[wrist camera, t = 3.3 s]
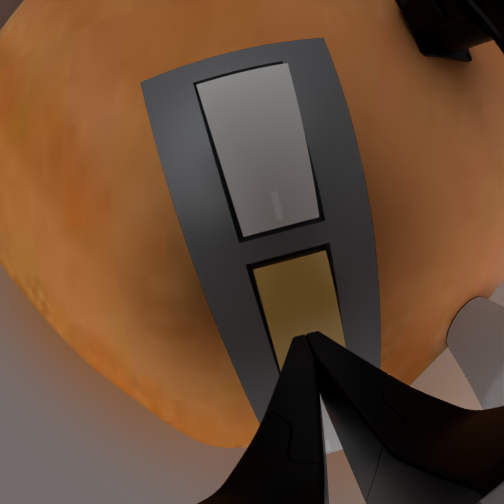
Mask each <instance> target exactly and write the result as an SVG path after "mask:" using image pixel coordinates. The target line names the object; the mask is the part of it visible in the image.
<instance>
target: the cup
mask: <svg viewBox="0 0 504 504" xmlns="http://www.w3.org/2000/svg"><path fill="white" fill-rule="evenodd" d="M447 345H448V347H449V349H450V351H451V352H452V354H453V355H454V357H455V359H456V360H457V362H458V364H459V366H460V367H461V369H462V371H463V373H464V374H465V376H466V378H467V380H468V381H469V383H470V385H471V387H472V388H473V391H474V392H475V394H476V396H477V398H478V400H479V402H480V404H481V406H482V408H483V409H484V410H485V409H490V408H495V407H500V406H504V307H503V306H501V305H499V304H496V303H494V302H492V301H490V300H488V299H486V298H484V297H476V298H474V299H472V300H471V301H469V302H468V303H467V304H466V305H465V306H464V307H463V308H462V309H461V310H460V311H459V313H458V314H457V315H456V317H455V319H454V320H453V322H452V324H451V327H450V329H449V332H448V336H447Z"/></svg>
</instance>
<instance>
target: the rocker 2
mask: <svg viewBox="0 0 504 504" xmlns="http://www.w3.org/2000/svg"><path fill="white" fill-rule="evenodd" d="M253 271H254V275H255V278H256V282H257V286H258V290H259V293H260V297H261V301H262V304H263V308H264V312H265V316H266V319H267V323H268V327H269V330H270V334H271V338H272V341H273V345H274V349H275V352H276V356H277V360H278V363H279V367H280V371H281V370H282V367H283V364H284V361H285V358H286V355H287V353H288V350H289V347H290V344H291V341H292V338H293V337H295V336H299V335H306V334H307V333H311V332H315V331H320V332H321V333H323V334H324V335H326V336H327V337H329V338H331V339H332V340H334V341H335V342H337V343H338V344H340V345H342V346H343V347H345V348H346V346H345V340H344V335H343V329H342V324H341V318H340V313H339V308H338V303H337V298H336V293H335V288H334V284H333V279H332V275H331V270H330V266H329V261H328V257H327V253H326V250H322V249H318V248H316V249H313V250H309V251H305V252H302V253H298V254H294V255H290V256H287V257H283V258H279V259H275V260H271V261H268V262H264V263H260V264H256V265H255V266H254V269H253Z"/></svg>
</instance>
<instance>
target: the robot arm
mask: <svg viewBox="0 0 504 504" xmlns="http://www.w3.org/2000/svg"><path fill="white" fill-rule="evenodd" d="M397 2H398V4H399V6H400V8H401V10H402V12H403V14H404V16H405V18H406V20H407V22H408V24H409V26H410V28H411V30H412V32H413V35H414V37H415V39H416V42H417V44H418V46H419V49H420V51H421V52H422V54H424V55H426V56H433V57H441V58H448V59H454V60H460V61H465V62H470V61H472V58H471V55H470V52H469V50H468V48H471V47H474V46H477V45H480V44H482V43H485V42H489V41H492V40H494V41H495V43H496V44H497V45H498V47H499V48H500V50H501V51H502V52H503V54H504V0H397ZM425 49H426V50H427V51H426V50H425ZM320 396H321V399H322V401H323V404H324V406H325V408H326V411H327V413H328V415H329V418H330V420H331V422H332V425H333V427H334V429H335V432H336V434H337V436H338V439H339V441H340V443H341V446H342V448H343V450H344V452H345V455H346V457H347V460H348V462H349V464H350V467H351V469H352V471H353V473H354V476H355V478H356V480H357V483H358V485H359V488H360V490H361V492H362V495H363V497H364V499H365V501H366V504H504V406H500V407H495V408H490V409H485V410H469V409H464V408H461V407H458V406H456V405H453V404H450V403H448V402H445V401H443V400H440V399H438V398H435V397H433V396H430V395H428V394H425V393H423V392H421V391H419V390H416V389H414V388H412V387H410V386H408V385H407V384H405V383H403V382H401V381H399V380H398V379H396V378H394V377H392V376H391V375H388V374H387V373H386V372H384V371H382V370H381V369H379V368H377V367H376V366H374V365H372V364H371V363H369V362H368V361H366V360H364V359H363V358H361V357H359V356H358V355H356V354H355V353H353V352H351V351H350V350H348V349H346V348H345V347H343V346H342V345H340V344H338V343H337V342H335V341H334V340H332V339H331V338H329V337H327V336H326V335H324V334H323V333H321V332H320V331H315V332H311V333H307V334H306V335H299V336H295V337H293V338H292V341H291V344H290V347H289V350H288V353H287V355H286V358H285V361H284V364H283V367H282V370H281V372H280V375H279V378H278V381H277V383H276V386H275V389H274V391H273V394H272V397H271V399H270V402H269V404H268V407H267V410H266V412H265V414H264V417H263V419H262V422H261V424H260V426H259V428H258V430H257V432H256V434H255V436H254V438H253V440H252V441H251V443H250V445H249V446H248V448H247V450H246V451H245V453H244V454H243V456H242V457H241V459H240V461H239V462H238V464H237V465H236V467H235V468H234V470H233V471H232V473H231V474H230V475H229V477H228V478H227V480H226V481H225V483H224V484H223V485H222V486H221V487H220V488H219V489H218V490H217V491H216V492H215V493H214V494H213V495H211V496H210V497H208V498H207V499H205V500H203V501H201V502H199V503H198V504H329V496H328V478H327V464H326V450H325V439H324V428H323V418H322V409H321V400H320Z"/></svg>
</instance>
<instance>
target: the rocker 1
mask: <svg viewBox="0 0 504 504" xmlns="http://www.w3.org/2000/svg"><path fill="white" fill-rule="evenodd" d="M196 86H197V89H198V92H199V95H200V99H201V102H202V105H203V108H204V112H205V115H206V118H207V121H208V124H209V128H210V131H211V134H212V137H213V141H214V144H215V147H216V150H217V153H218V157H219V160H220V163H221V166H222V169H223V173H224V176H225V179H226V182H227V185H228V189H229V192H230V195H231V198H232V201H233V205H234V208H235V211H236V214H237V217H238V221H239V224H240V227H241V230H242V233H243V237H245V236H249V235H253V234H257V233H260V232H264V231H268V230H272V229H275V228H279V227H283V226H287V225H291V224H295V223H298V222H302V221H306V220H310V219H314V218H318V217H319V212H318V205H317V199H316V192H315V186H314V181H313V175H312V169H311V164H310V159H309V153H308V148H307V143H306V138H305V133H304V129H303V124H302V119H301V115H300V111H299V106H298V102H297V98H296V94H295V89H294V85H293V81H292V78H291V74H290V70H289V66H288V63H285V64H279V65H274V66H268V67H263V68H258V69H254V70H249V71H245V72H240V73H236V74H232V75H228V76H225V77H221V78H217V79H214V80H210V81H207V82H204V83H201V84H197V85H196Z"/></svg>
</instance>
